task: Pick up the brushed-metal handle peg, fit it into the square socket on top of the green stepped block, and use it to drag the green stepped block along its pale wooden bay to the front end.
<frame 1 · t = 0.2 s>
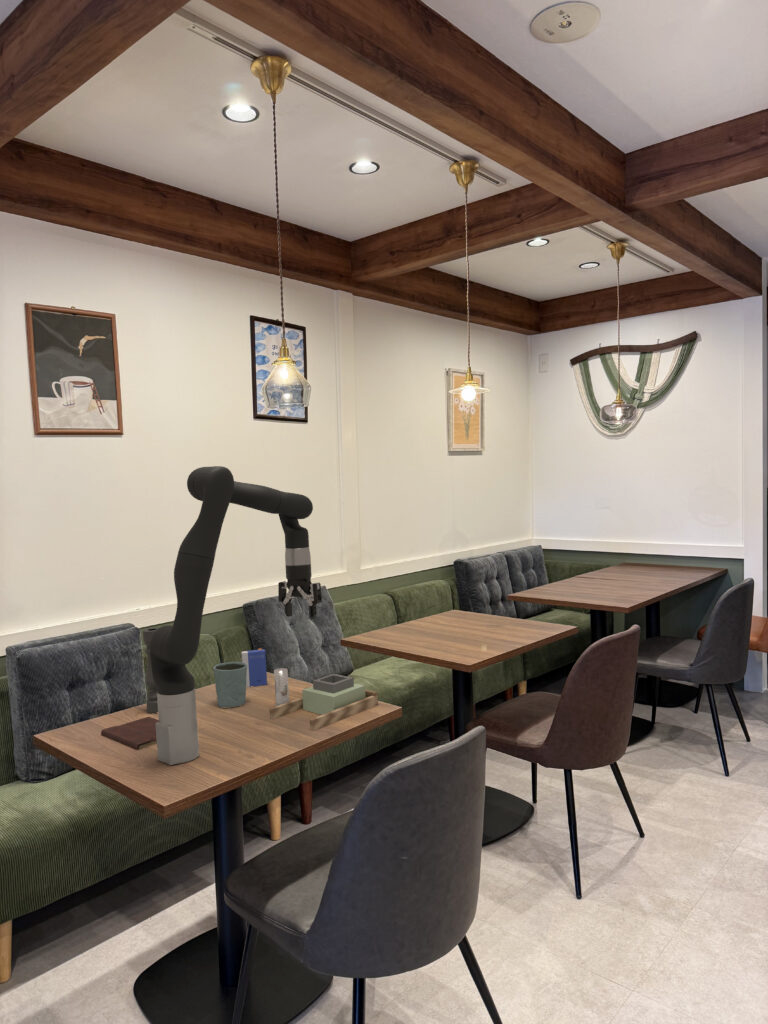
hand: (300, 617, 217), 28 cm above the table, tool pointing down, fingers open, 8 cm apart
walkman: (255, 685, 246), on the table
teal cup: (232, 704, 227), on the table
notebook: (144, 736, 203), on the table
candle holder: (157, 710, 224), on the table
green stepped block: (333, 693, 214), point 5 cm above the table, slide at 10.0 cm
handle: (283, 709, 219), on the table
bay: (325, 715, 211), on the table
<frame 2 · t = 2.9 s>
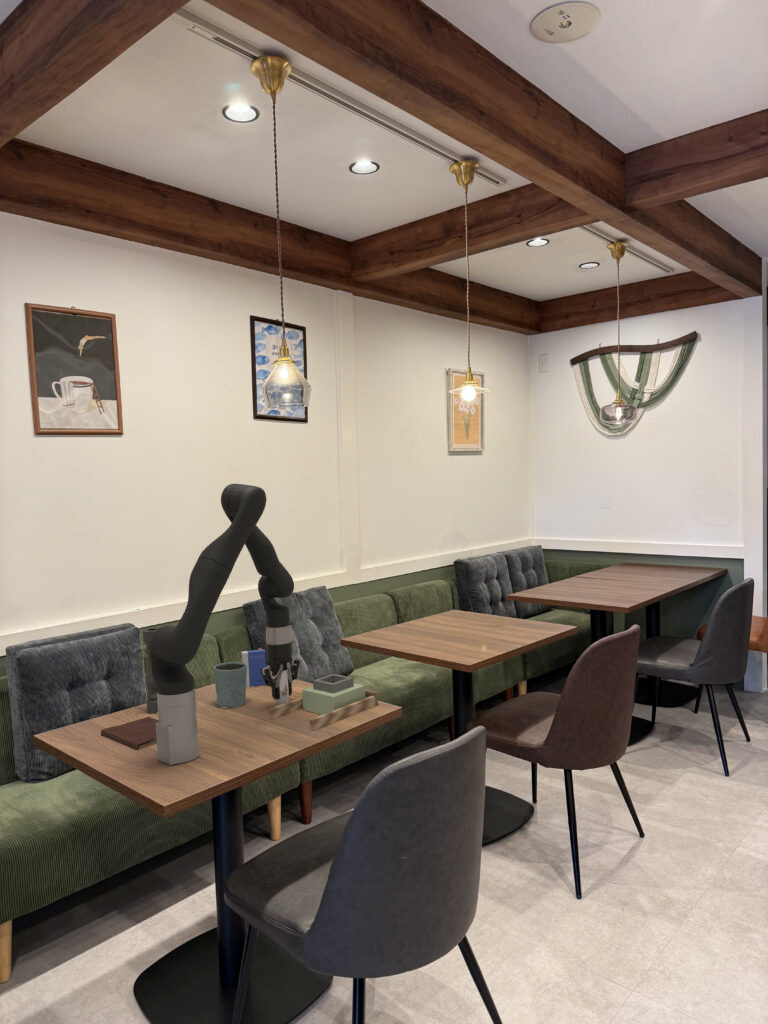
hand: (282, 696, 218), 4 cm above the table, tool pointing down, fingers closed on handle, 4 cm apart
handle: (283, 709, 219), on the table, touching gripper
everything else where it was.
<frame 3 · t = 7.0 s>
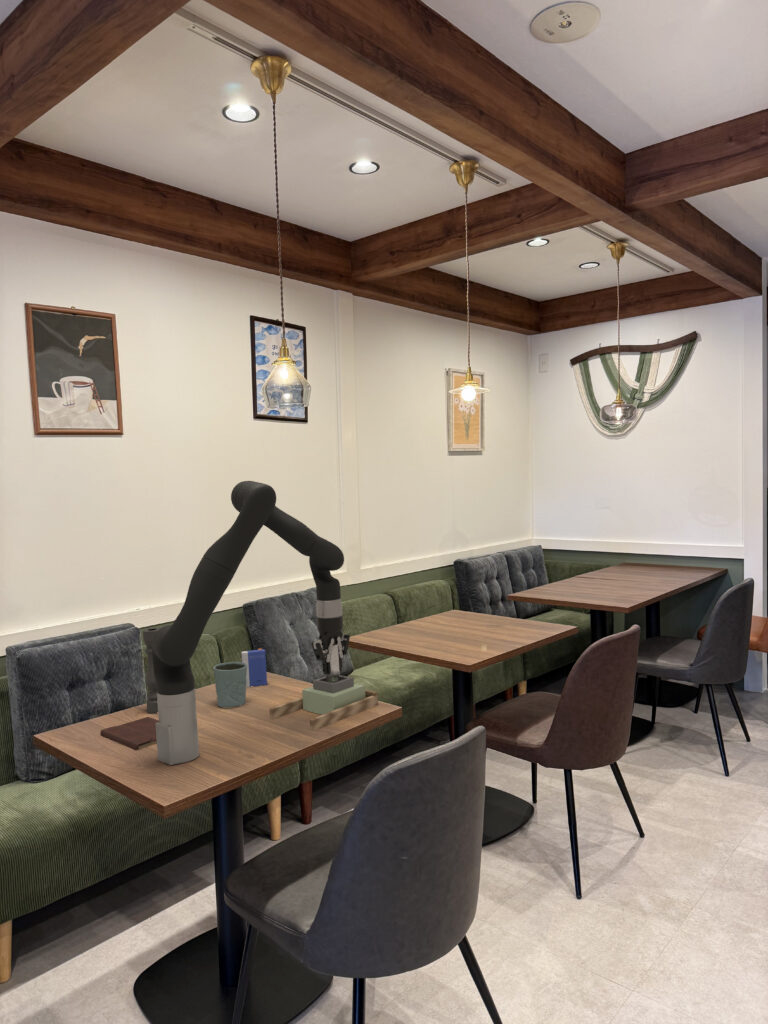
hand: (332, 672, 213), 12 cm above the table, tool pointing down, fingers closed on handle, 4 cm apart
handle: (333, 684, 213), point 8 cm above the table, touching gripper
everything else where it was.
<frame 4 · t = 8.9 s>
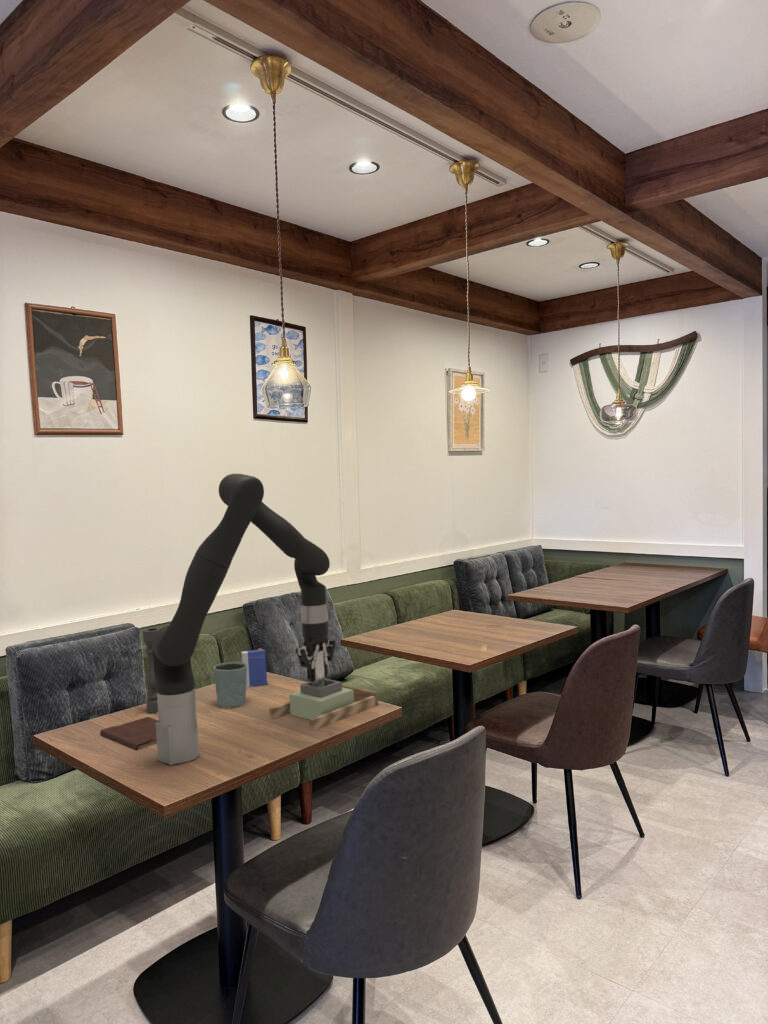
hand: (317, 678, 209), 11 cm above the table, tool pointing down, fingers closed on handle, 4 cm apart
green stepped block: (321, 697, 210), point 5 cm above the table, slide at 5.0 cm, touching handle
handle: (318, 692, 209), point 7 cm above the table, touching green stepped block, gripper
everything else where it was.
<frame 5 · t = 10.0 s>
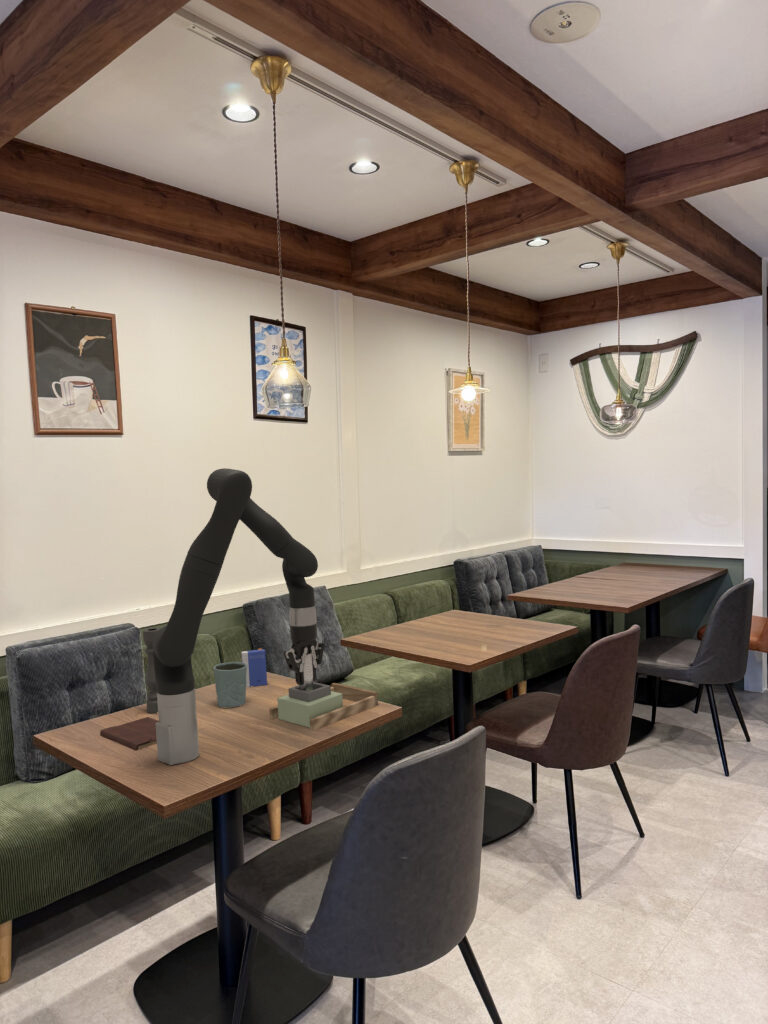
hand: (306, 682, 206), 11 cm above the table, tool pointing down, fingers closed on handle, 4 cm apart
green stepped block: (310, 701, 207), point 5 cm above the table, slide at 0.6 cm
handle: (307, 695, 206), point 8 cm above the table, touching gripper
everything else where it was.
when the fingers open (11 cm above the table, at t = 11.2 s): handle stays where it is, resting on green stepped block.
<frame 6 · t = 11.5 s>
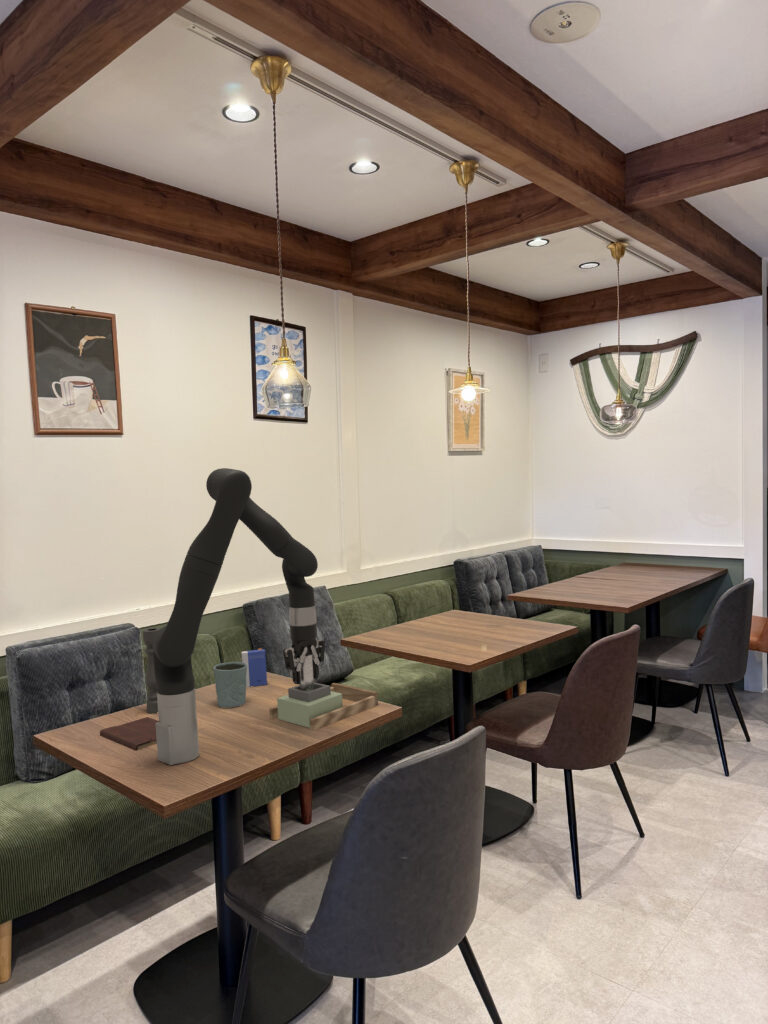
hand: (306, 680, 205), 12 cm above the table, tool pointing down, fingers open, 6 cm apart
green stepped block: (310, 702, 207), point 5 cm above the table, slide at 0.5 cm, touching handle
handle: (307, 696, 206), point 7 cm above the table, touching green stepped block
everything else where it was.
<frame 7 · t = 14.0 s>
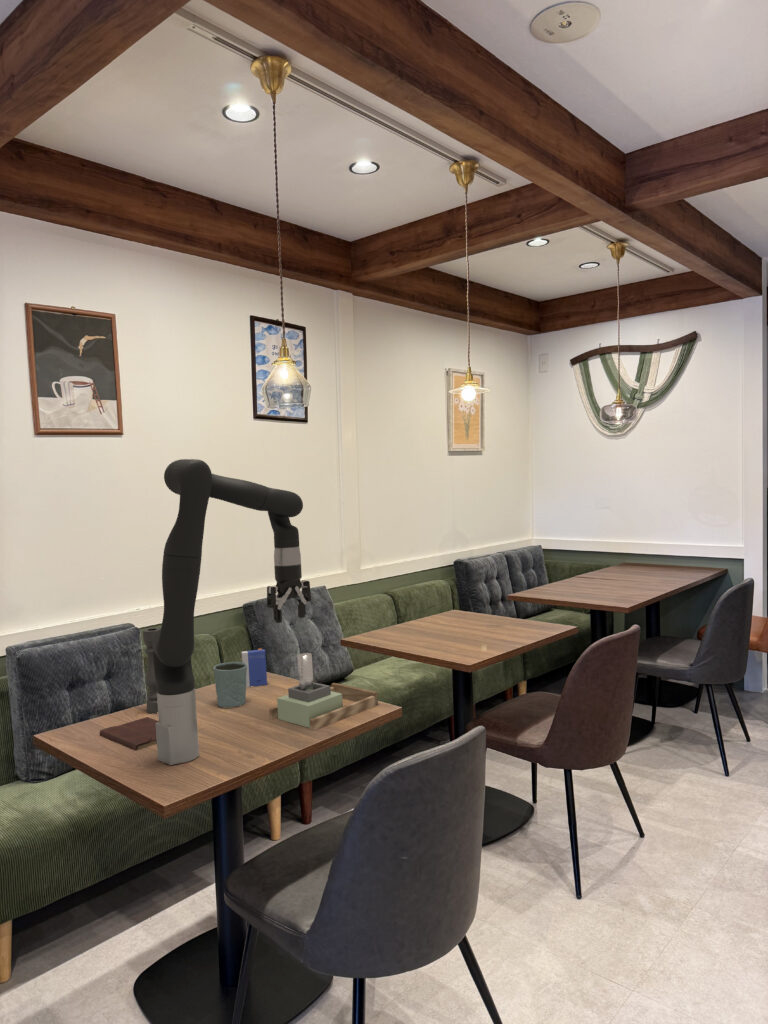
hand: (290, 619, 207), 29 cm above the table, tool pointing down, fingers open, 8 cm apart
nothing on the table moved.
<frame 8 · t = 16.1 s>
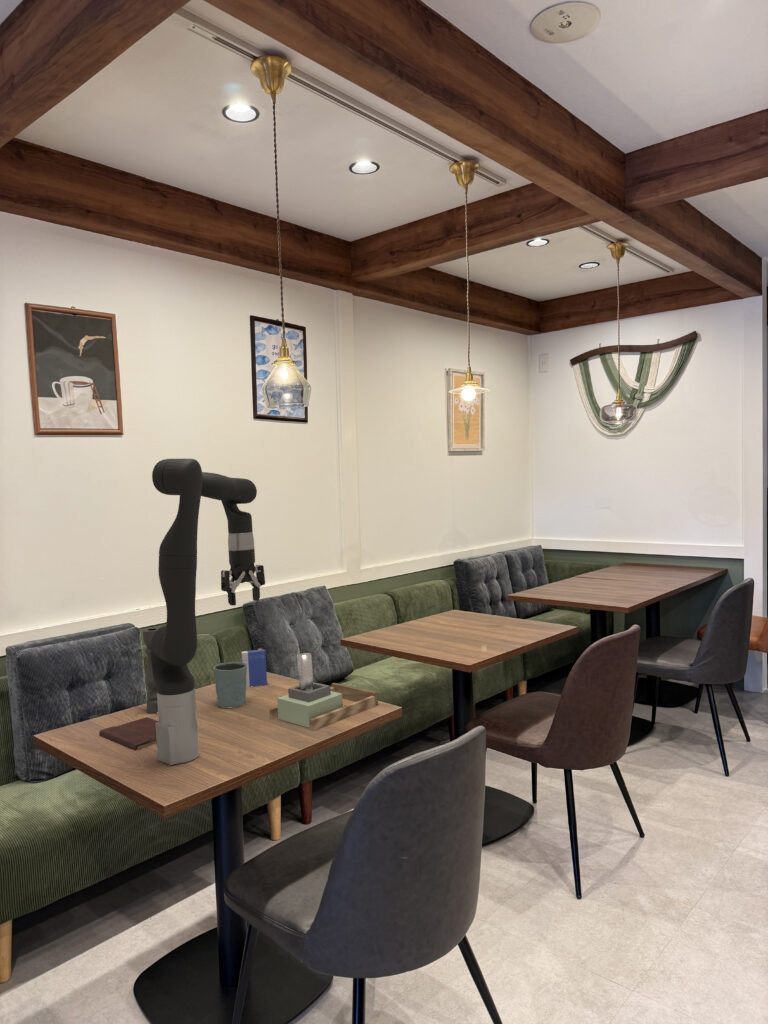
hand: (244, 602, 214), 33 cm above the table, tool pointing down, fingers open, 8 cm apart
nothing on the table moved.
at the end: green stepped block slide at 0.5 cm; handle inside the target area (0.4 cm from its centre), point 7.2 cm above the table; handle tilted 1° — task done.
